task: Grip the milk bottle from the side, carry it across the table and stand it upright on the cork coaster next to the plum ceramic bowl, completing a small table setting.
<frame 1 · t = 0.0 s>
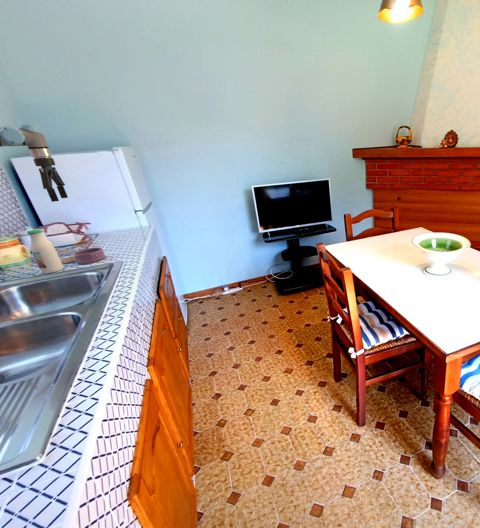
hand: (60, 199, 161), 29 cm above the counter, tool pointing down, fingers open, 13 cm apart
coaster: (72, 260, 155), on the counter
milk bottle: (53, 271, 142), on the counter
bowl: (91, 260, 153), on the counter
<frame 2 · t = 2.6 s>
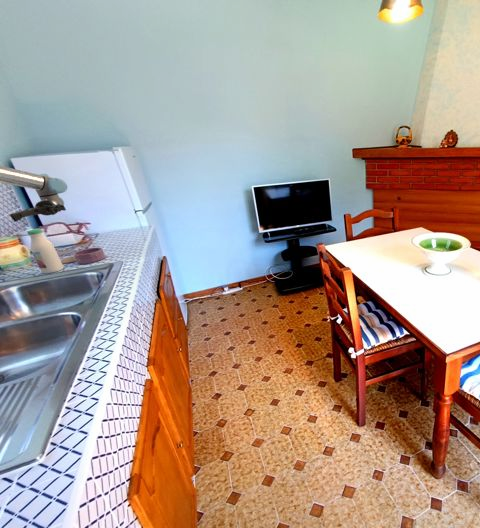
hand: (33, 215, 139), 25 cm above the counter, tool horizontal, fingers open, 13 cm apart
nothing on the counter moved.
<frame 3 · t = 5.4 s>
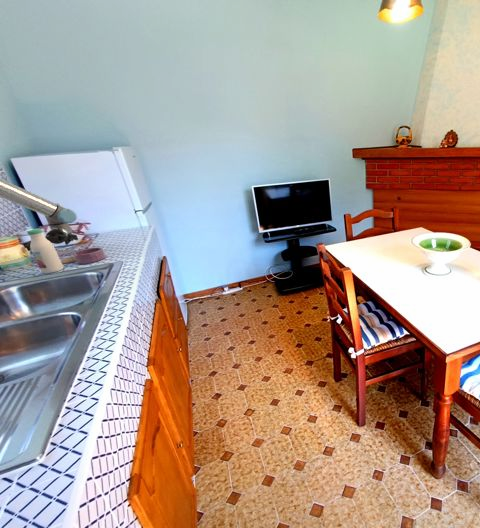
hand: (47, 245, 143), 11 cm above the counter, tool horizontal, fingers open, 13 cm apart
nothing on the counter moved.
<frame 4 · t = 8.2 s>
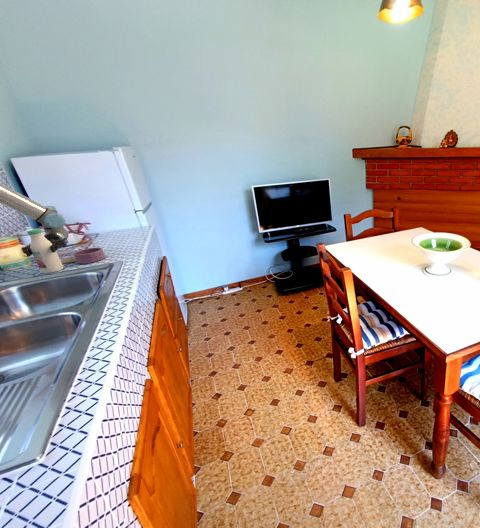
hand: (39, 251, 134), 11 cm above the counter, tool horizontal, fingers closed on milk bottle, 8 cm apart
milk bottle: (53, 271, 142), on the counter, touching gripper
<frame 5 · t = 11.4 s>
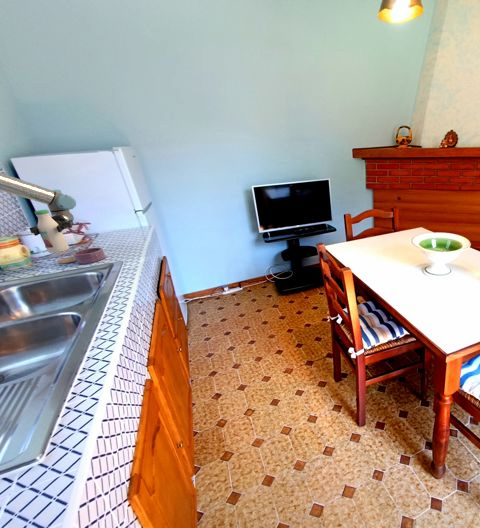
hand: (46, 231, 139), 18 cm above the counter, tool horizontal, fingers closed on milk bottle, 8 cm apart
milk bottle: (59, 250, 147), point 7 cm above the counter, touching gripper
when the fingers open (12 cm above the counter, at t = 14.5 s): milk bottle stays where it is, resting on coaster.
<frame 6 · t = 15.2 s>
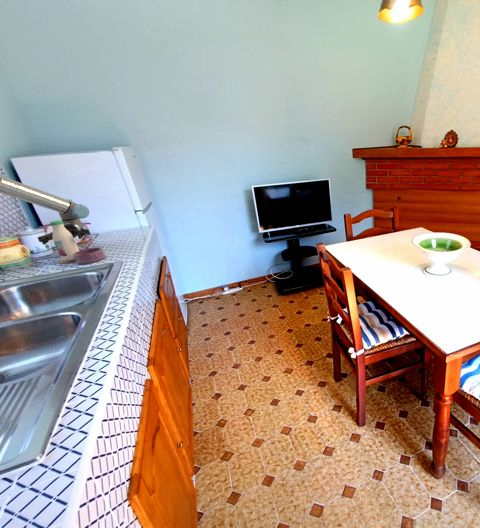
hand: (61, 239, 148), 12 cm above the counter, tool horizontal, fingers open, 13 cm apart
milk bottle: (72, 259, 155), resting on coaster
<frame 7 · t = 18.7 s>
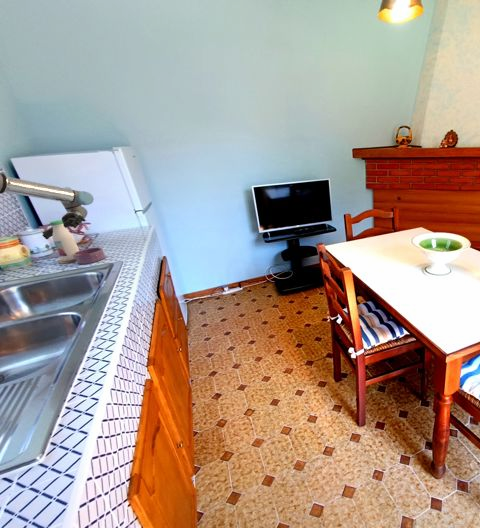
hand: (59, 231, 155), 14 cm above the counter, tool horizontal, fingers open, 13 cm apart
nothing on the counter moved.
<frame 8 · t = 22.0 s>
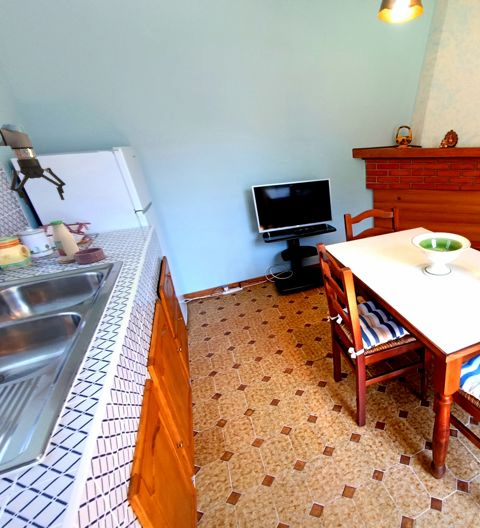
hand: (45, 202, 154), 29 cm above the counter, tool pointing down, fingers open, 13 cm apart
nothing on the counter moved.
at the end: milk bottle 0.1 cm off-centre on the coaster, point 0.4 cm above the coaster's base; milk bottle tilted 0°; the gripper is holding nothing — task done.
